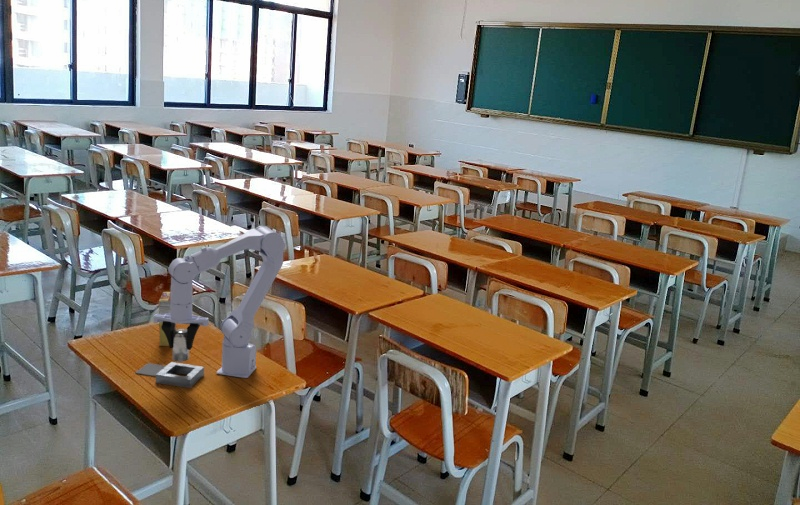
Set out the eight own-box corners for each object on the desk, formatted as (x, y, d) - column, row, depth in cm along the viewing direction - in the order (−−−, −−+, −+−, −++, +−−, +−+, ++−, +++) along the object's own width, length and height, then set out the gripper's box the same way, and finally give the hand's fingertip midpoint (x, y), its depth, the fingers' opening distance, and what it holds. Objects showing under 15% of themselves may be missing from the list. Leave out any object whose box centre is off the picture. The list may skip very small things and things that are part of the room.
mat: (170, 367, 192) (170, 366, 192) (158, 377, 185) (158, 376, 185) (147, 363, 193) (147, 362, 193) (135, 373, 186) (135, 372, 186)
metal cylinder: (191, 356, 186) (192, 330, 184) (184, 362, 182) (185, 335, 180) (177, 354, 187) (177, 328, 185) (169, 360, 182) (169, 333, 180)
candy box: (162, 335, 214) (162, 291, 211) (176, 335, 215) (177, 291, 212) (158, 346, 206) (158, 300, 202) (172, 346, 207) (173, 300, 203)
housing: (203, 374, 189) (204, 366, 189) (189, 388, 181) (190, 379, 180) (171, 369, 191) (171, 361, 190) (155, 382, 182) (155, 374, 181)
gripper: (211, 299, 184) (210, 344, 188) (159, 295, 184) (159, 340, 187) (205, 307, 178) (204, 353, 181) (151, 303, 177) (151, 350, 180)
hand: (180, 347), depth 183 cm, fingers closed on metal cylinder, 4 cm apart
